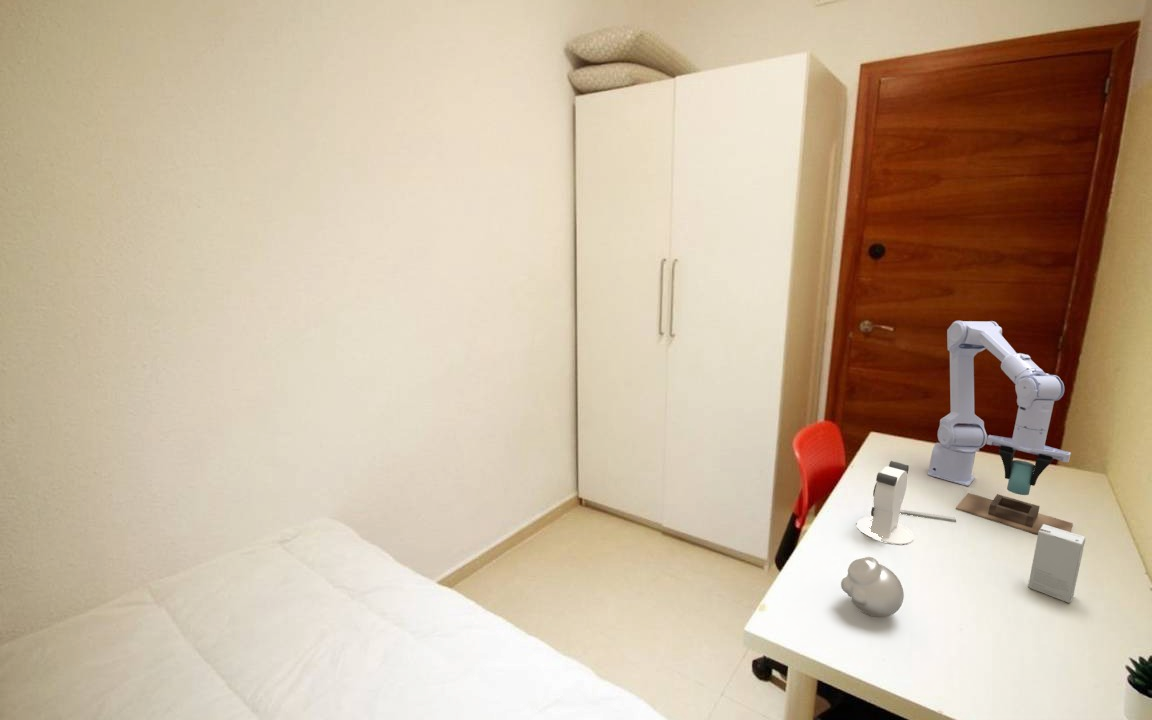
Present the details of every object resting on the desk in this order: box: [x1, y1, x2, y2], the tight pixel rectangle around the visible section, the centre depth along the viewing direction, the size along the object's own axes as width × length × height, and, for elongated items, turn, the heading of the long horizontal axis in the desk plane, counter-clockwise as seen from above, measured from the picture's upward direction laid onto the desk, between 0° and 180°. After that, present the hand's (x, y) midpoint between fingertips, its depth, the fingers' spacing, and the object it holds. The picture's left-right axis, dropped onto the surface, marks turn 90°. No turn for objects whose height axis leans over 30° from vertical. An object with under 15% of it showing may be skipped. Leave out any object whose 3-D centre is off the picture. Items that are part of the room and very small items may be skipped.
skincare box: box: [1027, 524, 1086, 604], centre depth 94 cm, size 6×4×12 cm
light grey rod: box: [900, 509, 957, 523], centre depth 122 cm, size 12×1×1 cm, turn 71°
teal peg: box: [1006, 459, 1035, 496], centre depth 120 cm, size 4×4×7 cm
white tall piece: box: [869, 460, 915, 545], centre depth 115 cm, size 12×11×15 cm
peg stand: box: [955, 492, 1073, 536], centre depth 122 cm, size 20×12×3 cm, turn 41°
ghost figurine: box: [840, 556, 905, 618], centre depth 89 cm, size 9×10×10 cm
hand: (1019, 480), depth 120 cm, fingers closed on teal peg, 4 cm apart
